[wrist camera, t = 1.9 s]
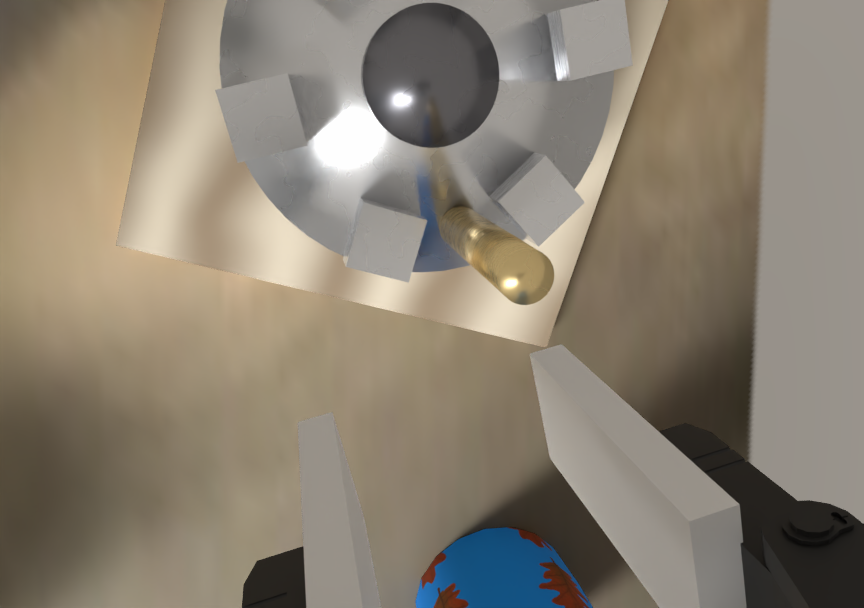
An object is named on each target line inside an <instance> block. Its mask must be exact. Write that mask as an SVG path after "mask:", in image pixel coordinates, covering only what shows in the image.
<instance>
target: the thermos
mask: <svg viewBox="0 0 864 608" xmlns="http://www.w3.org/2000/svg"><path fill="white" fill-rule="evenodd" d="M416 607H417V608H593V607H592V605H591V604H590V602H589V600H588V599H587V597H586V595H585V594H584V592H583V590H582V589H581V587H580V585H579V584H578V582H577V581H576V579H575V578H574V576H573V575H572V574H571V572H570V571H569V569H568V568H567V567H566V565H565V564H564V562H563V561H562V560H561V558H560V557H559V555H558V554H557V552H556V551H555V550H554V548H553V547H552V546H551V545H549V544H548V543H547V542H545V541H544V540H543V539H541V538H540V537H539V536H537V535H536V534H535V533H531V532H528V531H524V530H520V529H516V528H513V527H504V528H490V529H483V530H480V531H478V532H475V533H473V534H470V535H468V536H465V537H462V538H460V539H458V540H457V541H455V542H454V543H453V544H452V545H450V546H449V547H448V548H446V549H445V550H444V551H443V552H441V553H440V554H439V555H437V556H436V558H435V559H434V561H433V562H432V564H431V565H430V567H429V568H428V569H427V571H426V572H425V574H424V575H423V577H422V579H421V582H420V586H419V590H418V594H417V598H416Z"/></svg>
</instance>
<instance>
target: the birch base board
mask: <svg viewBox="0 0 864 608" xmlns="http://www.w3.org/2000/svg"><path fill="white" fill-rule="evenodd" d="M226 3H227V0H165V5H164V10H163V14H162V19H161V24H160V29H159V34H158V39H157V44H156V49H155V54H154V59H153V64H152V69H151V74H150V79H149V84H148V89H147V94H146V99H145V104H144V108H143V113H142V118H141V123H140V128H139V133H138V138H137V143H136V148H135V153H134V158H133V163H132V168H131V173H130V178H129V183H128V188H127V193H126V197H125V202H124V207H123V212H122V217H121V222H120V227H119V232H118V237H117V242H116V246H120V247H124V248H129V249H133V250H137V251H141V252H146V253H150V254H154V255H158V256H162V257H167V258H171V259H175V260H179V261H183V262H188V263H192V264H196V265H200V266H205V267H209V268H213V269H217V270H221V271H226V272H230V273H234V274H238V275H242V276H247V277H251V278H255V279H259V280H264V281H268V282H272V283H276V284H280V285H285V286H289V287H293V288H297V289H301V290H306V291H310V292H314V293H318V294H323V295H327V296H331V297H335V298H339V299H344V300H348V301H352V302H356V303H360V304H365V305H369V306H373V307H377V308H382V309H386V310H390V311H394V312H398V313H403V314H407V315H411V316H415V317H420V318H424V319H428V320H432V321H436V322H441V323H445V324H449V325H453V326H457V327H462V328H466V329H470V330H474V331H479V332H483V333H487V334H491V335H495V336H500V337H504V338H508V339H512V340H516V341H521V342H525V343H529V344H533V345H538V346H542V347H547V344H548V341H549V338H550V335H551V333H552V330H553V327H554V324H555V321H556V318H557V315H558V313H559V310H560V307H561V304H562V301H563V298H564V296H565V293H566V290H567V287H568V284H569V281H570V279H571V276H572V273H573V270H574V267H575V264H576V262H577V259H578V256H579V253H580V250H581V247H582V245H583V242H584V239H585V236H586V233H587V230H588V227H589V225H590V222H591V219H592V216H593V213H594V210H595V208H596V205H597V202H598V199H599V196H600V193H601V191H602V188H603V185H604V182H605V179H606V176H607V174H608V171H609V168H610V165H611V162H612V159H613V156H614V154H615V151H616V148H617V145H618V142H619V139H620V137H621V134H622V131H623V128H624V125H625V122H626V120H627V117H628V114H629V111H630V108H631V105H632V103H633V100H634V97H635V94H636V91H637V88H638V86H639V83H640V80H641V77H642V74H643V71H644V68H645V66H646V63H647V60H648V57H649V54H650V51H651V49H652V46H653V43H654V40H655V37H656V34H657V32H658V29H659V26H660V23H661V20H662V17H663V15H664V12H665V9H666V6H667V3H668V0H625V7H626V15H627V23H628V31H629V39H630V47H631V55H632V63H633V65H632V66H628V67H624V68H620V69H616V70H614V83H613V91H612V98H611V104H610V110H609V114H608V118H607V121H606V125H605V128H604V132H603V135H602V138H601V141H600V143H599V145H598V148H597V150H596V153H595V155H594V157H593V160H592V162H591V163H590V165H589V167H588V169H587V171H586V172H585V174H584V176H583V178H582V180H581V181H580V183H579V184H578V185H577V187H576V188H575V191H576V192H577V193H578V194H579V196H580V197H581V198H582V199H583V200H584V202H585V203H584V204H583V205H582V206H581V207H580V208H579V209H578V210H577V211H575V212H574V213H573V214H572V215H571V216H570V217H569V218H568V219H567V220H566V221H565V222H564V223H563V224H562V225H561V226H560V227H559V228H558V229H557V230H556V231H555V232H554V233H553V234H552V235H550V236H549V237H548V238H547V239H546V240H545V241H544V242H543V243H542V244H541V245H540V246H539V247H538V246H537V245H535V244H533V243H532V242H530V241H528V240H527V239H526V238H525V239H524V240H522V241H524V242H525V243H527V244H529V245H530V246H532V247H534V248H535V249H537V250H538V251H540V252H542V253H543V254H545V255H546V256H547V257H548V258H549V259H550V261H551V263H552V265H553V268H554V282H553V285H552V287H551V289H550V291H549V292H548V294H547V295H546V296H545V297H544V298H543V299H541V300H540V301H538V302H536V303H534V304H530V305H519V304H516V303H513V302H511V301H510V300H509V299H507V298H506V297H505V296H504V295H503V294H502V293H501V292H500V291H499V290H498V289H496V288H495V287H494V286H493V285H492V284H491V283H490V282H489V281H488V280H487V279H485V278H484V277H483V276H482V275H481V274H480V273H479V272H478V271H477V270H476V269H475V268H473V267H472V266H471V265H469V266H465V267H460V268H455V269H451V270H446V271H434V272H412V273H411V277H410V280H409V283H408V282H404V281H400V280H396V279H392V278H388V277H384V276H380V275H376V274H372V273H368V272H364V271H360V270H356V269H352V268H348V267H346V266H345V264H344V261H343V257H344V256H342V255H340V254H338V253H336V252H334V251H332V250H329V249H327V248H326V247H324V246H323V245H321V244H320V243H318V242H316V241H315V240H313V239H312V238H310V237H309V236H307V235H306V234H304V233H303V232H302V231H301V230H300V229H299V228H297V227H296V226H295V225H294V224H293V223H291V222H290V221H289V220H288V219H287V218H286V217H285V216H284V215H283V214H282V213H281V212H280V211H279V210H278V209H277V208H276V207H275V205H274V204H273V203H272V202H271V201H270V200H269V199H268V198H267V196H266V195H265V193H264V192H263V191H262V189H261V188H260V186H259V185H258V183H257V182H256V181H255V179H254V178H253V176H252V175H251V173H250V171H249V169H248V167H247V165H246V163H245V161H243V162H239V163H238V162H237V159H236V156H235V152H234V149H233V146H232V143H231V140H230V136H229V133H228V130H227V127H226V123H225V120H224V117H223V114H222V111H221V107H220V104H219V101H218V98H217V95H216V91H215V90H217V89H222V87H221V78H220V69H219V68H220V36H221V30H222V23H223V17H224V10H225V7H226Z"/></svg>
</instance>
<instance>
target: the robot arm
mask: <svg viewBox="0 0 864 608" xmlns="http://www.w3.org/2000/svg"><path fill="white" fill-rule="evenodd" d="M530 357H531V363H532V368H533V373H534V378H535V383H536V388H537V394H538V399H539V404H540V409H541V414H542V419H543V425H544V430H545V435H546V440H547V445H548V451H549V456H550V459H551V460H552V462H553V463H554V464H555V466H556V467H557V468H558V470H559V471H560V473H561V474H562V475H563V477H564V478H565V479H566V481H567V482H568V483H569V485H570V486H571V488H572V489H573V490H574V492H575V493H576V494H577V496H578V497H579V498H580V500H581V501H582V503H583V504H584V505H585V507H586V508H587V509H588V511H589V512H590V513H591V515H592V516H593V518H594V519H595V520H596V522H597V523H598V524H599V526H600V527H601V528H602V530H603V531H604V533H605V534H606V535H607V537H608V538H609V539H610V541H611V542H612V543H613V545H614V546H615V548H616V549H617V550H618V552H619V553H620V554H621V556H622V557H623V558H624V560H625V561H626V563H627V564H628V565H629V567H630V568H631V569H632V571H633V572H634V573H635V575H636V576H637V578H638V579H639V580H640V582H641V583H642V584H643V586H644V587H645V588H646V590H647V591H648V593H649V594H650V595H651V597H652V598H653V599H654V601H655V602H656V603H657V605H658V606H659V608H864V524H862V523H861V522H860V521H859V520H858V519H856V518H855V517H854V516H853V515H851V514H850V513H849V512H847V511H846V510H843V509H840V508H838V507H836V506H833V505H831V504H827V503H821V502H815V501H797V500H796V499H795V498H793V497H792V496H791V495H790V494H788V493H787V492H786V491H784V490H783V489H782V488H781V487H779V486H778V485H777V484H775V483H774V482H773V481H772V480H770V479H769V478H768V477H767V476H765V475H764V474H763V473H762V472H760V471H759V470H758V469H756V468H755V467H754V466H753V465H752V464H750V463H749V462H748V461H747V462H745V460H744V458H743V457H741V456H740V455H739V454H738V453H736V452H735V451H734V450H730V448H729V446H728V445H726V444H725V443H724V442H722V441H721V440H720V439H719V438H717V437H716V436H715V435H714V434H712V433H711V432H708V431H706V430H703V429H700V428H697V427H694V426H692V425H689V424H686V423H684V424H681V425H678V426H675V427H672V428H669V429H666V430H662V431H657V430H656V429H655V428H654V427H653V426H652V425H651V424H650V423H648V422H647V421H646V420H645V419H644V418H643V417H642V416H641V415H640V414H638V413H637V412H636V411H635V410H634V409H633V408H632V407H631V406H630V405H628V404H627V403H626V402H625V401H624V400H623V399H622V398H621V397H620V396H618V395H617V394H616V393H615V392H614V391H613V390H612V389H611V388H610V387H608V386H607V385H606V384H605V383H604V382H603V381H602V380H601V379H600V378H598V377H597V376H596V375H595V374H594V373H593V372H592V371H591V370H590V369H588V368H587V367H586V366H585V365H584V364H583V363H582V362H581V361H580V360H578V359H577V358H576V357H575V356H574V355H573V354H572V353H571V352H570V351H568V350H567V349H566V348H565V347H564V346H563V345H562V344H561V345H558V346H554V347H551V348H548V349H544V350H541V351H537V352H534V353H531V354H530ZM298 438H299V460H300V482H301V503H302V525H303V547H300V548H297V549H293V550H290V551H287V552H284V553H281V554H278V555H274V556H271V557H268V558H265V559H262V560H259V561H257V562H256V564H255V566H254V567H253V569H252V571H251V573H250V574H249V576H248V578H247V580H246V581H245V583H244V588H243V601H242V608H381V603H380V598H379V593H378V588H377V583H376V577H375V572H374V567H373V562H372V557H371V551H370V546H369V541H368V536H367V530H366V525H365V520H364V516H363V512H362V509H361V506H360V502H359V499H358V496H357V492H356V489H355V486H354V482H353V479H352V476H351V472H350V469H349V466H348V462H347V459H346V456H345V453H344V449H343V446H342V443H341V439H340V436H339V433H338V429H337V426H336V423H335V419H334V416H333V413H332V412H331V413H327V414H324V415H320V416H317V417H314V418H310V419H307V420H303V421H300V422H298Z"/></svg>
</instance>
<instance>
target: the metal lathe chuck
mask: <svg viewBox="0 0 864 608" xmlns="http://www.w3.org/2000/svg"><path fill="white" fill-rule="evenodd" d="M632 65H633V63H632V55H631V47H630V39H629V31H628V23H627V15H626V7H625V0H227V3H226V7H225V10H224V17H223V23H222V30H221V36H220V68H219V69H220V78H221V87H222V89H217V90H215V91H216V95H217V98H218V101H219V104H220V107H221V111H222V114H223V117H224V120H225V123H226V127H227V130H228V133H229V136H230V140H231V143H232V146H233V149H234V152H235V156H236V159H237V162H238V163H239V162H243V161H245V163H246V165H247V167H248V169H249V171H250V173H251V175H252V176H253V178H254V179H255V181H256V182H257V183H258V185H259V186H260V188H261V189H262V191H263V192H264V193H265V195H266V196H267V198H268V199H269V200H270V201H271V202H272V203H273V204H274V205H275V207H276V208H277V209H278V210H279V211H280V212H281V213H282V214H283V215H284V216H285V217H286V218H287V219H288V220H289V221H290V222H291V223H293V224H294V225H295V226H296V227H297V228H299V229H300V230H301V231H302V232H303V233H304V234H306V235H307V236H309V237H310V238H312V239H313V240H315V241H316V242H318V243H320V244H321V245H323V246H324V247H326V248H327V249H329V250H332V251H334V252H336V253H338V254H340V255H342V256H344V257H343V261H344V264H345V266H346V267H348V268H352V269H356V270H360V271H364V272H368V273H372V274H376V275H380V276H384V277H388V278H392V279H396V280H400V281H404V282H408V283H409V280H410V277H411V273H412V272H434V271H446V270H451V269H455V268H460V267H465V266H469V265H471V266H472V267H473V268H475V269H476V270H477V271H478V272H479V273H480V274H481V275H482V276H483V277H484V278H485V279H487V280H488V281H489V282H490V283H491V284H492V285H493V286H494V287H495V288H496V289H498V290H499V291H500V292H501V293H502V294H503V295H504V296H505V297H506V298H507V299H509V300H510V301H511V302H513V303H516V304H519V305H530V304H534V303H536V302H538V301H540V300H541V299H543V298H544V297H545V296H546V295H547V294H548V292H549V291H550V289H551V287H552V285H553V282H554V268H553V265H552V263H551V261H550V259H549V258H548V257H547V256H546V255H545V254H543V253H542V252H540V251H538V250H537V249H535V248H534V247H532V246H530V245H529V244H527V243H525V242H524V241H522V240H524V239H525V238H526V239H527V240H528V241H530V242H532V243H533V244H535V245H537V246H538V247H539V246H540V245H541V244H542V243H543V242H544V241H545V240H546V239H547V238H548V237H549V236H550V235H552V234H553V233H554V232H555V231H556V230H557V229H558V228H559V227H560V226H561V225H562V224H563V223H564V222H565V221H566V220H567V219H568V218H569V217H570V216H571V215H572V214H573V213H574V212H575V211H577V210H578V209H579V208H580V207H581V206H582V205H583V204H584V203H585V202H584V200H583V199H582V198H581V197H580V196H579V194H578V193H577V192H576V191H575V188H576V187H577V185H578V184H579V183H580V181H581V180H582V178H583V176H584V174H585V172H586V171H587V169H588V167H589V165H590V163H591V162H592V160H593V157H594V155H595V153H596V150H597V148H598V145H599V143H600V141H601V138H602V135H603V132H604V128H605V125H606V121H607V118H608V114H609V110H610V104H611V98H612V91H613V83H614V70H616V69H620V68H624V67H628V66H632Z"/></svg>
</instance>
